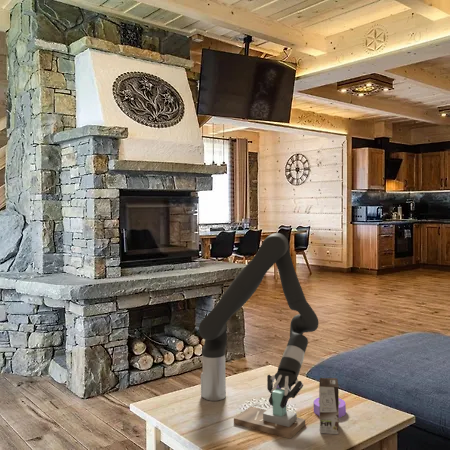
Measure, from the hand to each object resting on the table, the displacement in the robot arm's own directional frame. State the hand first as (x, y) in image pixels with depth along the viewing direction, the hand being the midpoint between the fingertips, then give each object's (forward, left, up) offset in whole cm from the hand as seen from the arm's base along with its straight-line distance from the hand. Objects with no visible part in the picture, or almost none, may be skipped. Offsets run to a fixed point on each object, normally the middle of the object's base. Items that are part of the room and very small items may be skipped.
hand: (276, 405), depth 171 cm
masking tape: (+10, +23, -9) cm, 26 cm away
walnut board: (-4, +2, -8) cm, 9 cm away
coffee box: (+15, +10, -8) cm, 20 cm away
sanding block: (0, +2, -6) cm, 6 cm away
